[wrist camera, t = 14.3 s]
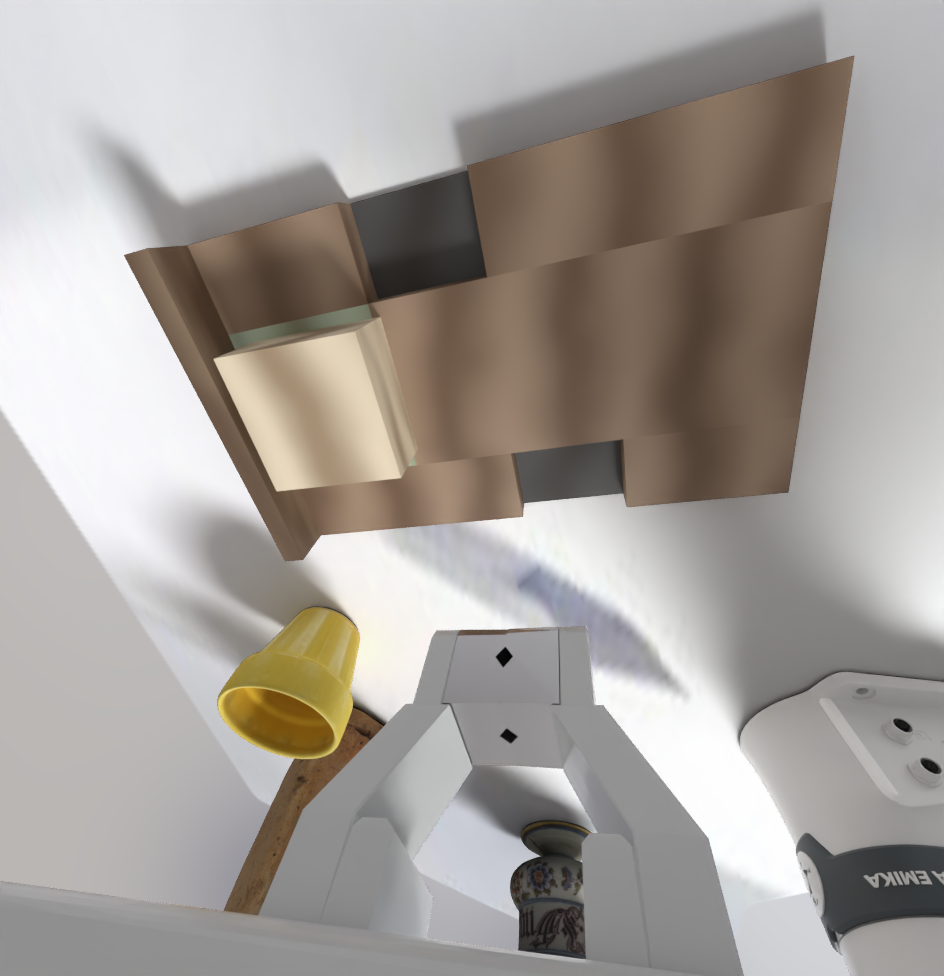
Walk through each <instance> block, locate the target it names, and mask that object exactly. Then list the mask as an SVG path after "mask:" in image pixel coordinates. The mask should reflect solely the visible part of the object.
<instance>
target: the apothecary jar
mask: <svg viewBox="0 0 944 976" xmlns="http://www.w3.org/2000/svg"><path fill="white" fill-rule="evenodd" d="M589 833H590V832H589V831H587V830H585V829H584V828H582V827H579V826H577V825H573V824H570V823H565V822H559V821H542V822H536V823H533V824H530V825H528V826H527V827H525V828H524V829H523V831H522V833H521V839H522V842H523V843H524V845H525V846H526V847H527V848H528V849H529V850H531V851H532V852H534V853H536V854H538V855H540V856H541V857H537V858H534V859H531V860H528V861H526V862H524V863H523V864H521V865H520V866H519V867H518V868H517V869H516V870H515V871H514V873H513V875H512V878H511V883H510V891H511V896H512V899H513V901H514V904H515V906H516V907H517V909H518V910H519V949H518V951H526V952H533V953H541V954H548V955H556V956H563V957H571V958H578V959H586V946H585V920H584V893H583V867H582V862H580V861H581V860H582V842H583V841H584V840H585V838H586V837H587V836H588V835H589Z"/></svg>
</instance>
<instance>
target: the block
mask: <svg viewBox="0 0 944 976" xmlns="http://www.w3.org/2000/svg"><path fill="white" fill-rule="evenodd" d="M383 727H384V726H383V725H381V724H380V723H378V722H377V721H375V720H374V719H372V718H371V717H370V716H369V715H367V714H366V713H364V712H362V711H360V710H357V709H355V708H352V712H351V714H350V717H349V720H348V723H347V726H346V728H345V731H344V733H343V736H342V738H341V741H340V743H339V745H338V747H337V748H336V749H335V750H334V751H333V752H332V753H330V754H328V755H326V756H324V757H321V758H316V759H297V758H295V759H294V760H293V762H292V764H291V766H290V768H289V770H288V771H287V773H286V775H285V777H284V779H283V781H282V784H281V786H280V788H279V790H278V792H277V795H276V797H275V799H274V801H273V803H272V805H271V807H270V809H269V812H268V813H267V816H266V818H265V820H264V822H263V824H262V826H261V828H260V831H259V833H258V835H257V837H256V839H255V841H254V844H253V846H252V848H251V850H250V852H249V854H248V856H247V858H246V861H245V863H244V865H243V867H242V869H241V872H240V874H239V876H238V879H237V881H236V883H235V886H234V888H233V890H232V892H231V895H230V897H229V899H228V901H227V904H226V906H225V909H224V911H228V912H235V913H243V914H250V915H259V912H260V910H261V907H262V905H263V903H264V900H265V898H266V896H267V893H268V891H269V889H270V886H271V884H272V881H273V879H274V877H275V874H276V872H277V870H278V867H279V865H280V863H281V860H282V858H283V855H284V853H285V851H286V848H287V846H288V844H289V841H290V839H291V837H292V834H293V832H294V829H295V827H296V825H297V822H298V820H299V818H300V815H301V813H302V811H303V809H304V808H305V807H306V806H307V805H308V804H309V803H310V802H311V801H312V800H313V799H314V798H315V797H316V796H317V795H318V793H319V792H320V791H321V790H322V789H323V788H324V787H325V786H326V785H327V784H328V783H329V782H330V781H331V780H332V779H333V778H334V777H335V776H336V775H337V774H338V773H339V772H340V771H341V770H342V769H343V768H344V767H345V766H346V765H347V764H348V763H349V762H350V761H351V760H352V759H353V758H354V757H355V756H356V755H357V753H358V752H359V751H360V750H361V749H362V748H363V747H364V746H365V745H366V744H367V743H368V742H369V741H370V740H371V739H372V738H373V737H374V736H375V735H376V734H377V733H378V732H379V731H380V730H381V729H382V728H383Z"/></svg>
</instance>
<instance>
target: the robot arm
mask: <svg viewBox="0 0 944 976" xmlns="http://www.w3.org/2000/svg"><path fill="white" fill-rule="evenodd" d="M740 747H741V750H742V753H743V754H744V756H745V757H746V759H747V760H748V761H749V763H750V764H751V766H752V767H753V769H754V770H755V772H756V773H757V775H758V776H759V778H760V779H761V781H762V783H763V784H764V786H765V788H766V789H767V791H768V793H769V795H770V796H771V798H772V800H773V802H774V804H775V805H776V807H777V809H778V811H779V813H780V815H781V817H782V819H783V821H784V823H785V825H786V827H787V829H788V831H789V833H790V835H791V837H792V839H793V841H794V843H795V845H796V854H797V858H798V863H799V867H800V870H801V873H802V876H803V879H804V881H805V884H806V887H807V889H808V892H809V895H810V897H811V900H812V903H813V905H814V908H815V910H816V912H817V914H818V916H819V917H820V918H821V921H822V923H823V925H824V928H825V930H826V933H827V935H828V938H829V940H830V942H831V945H832V946H833V948H834V949H835V950H836V951H837V952H838V953H840V954H841V955H842V956H843V958H844V961H845V963H846V966H847V968H848V971H849V973H850V976H944V682H938V681H929V680H920V679H910V678H901V677H891V676H882V675H872V674H863V673H853V672H839V673H835V674H833V675H830V676H828V677H827V678H825V679H823V680H822V681H820V682H819V683H818V684H816V685H815V686H813V687H812V688H811V689H809V690H808V691H806V692H803V693H801V694H798V695H795V696H793V697H790V698H787V699H784V700H782V701H779V702H777V703H775V704H772V705H771V706H769V707H767V708H765V709H763V710H762V711H760V712H759V713H758V714H756V715H755V716H754V717H753V718H752V719H751V720H750V721H749V722H748V723H747V724H746V726H745V727H744V729H743V731H742V733H741V737H740ZM472 765H514V766H531V767H546V768H561V769H564V772H565V774H566V776H567V778H568V780H569V782H570V783H571V785H572V787H573V789H574V791H575V792H576V794H577V796H578V798H579V800H580V801H581V803H582V805H583V807H584V809H585V811H586V812H587V814H588V816H589V818H590V820H591V821H592V823H593V825H594V827H595V829H596V830H597V832H598V833H589V835H588V836H587V837H586V838H585V840H584V841H583V842H582V867H583V893H584V920H585V946H586V959H578V958H571V957H563V956H556V955H548V954H541V953H533V952H526V951H518V950H511V949H503V948H496V947H489V946H481V945H474V944H466V943H459V942H451V941H444V940H436V939H428V938H427V935H428V929H429V923H430V917H431V910H432V904H433V897H432V894H431V892H430V890H429V888H428V886H427V885H426V883H425V881H424V880H423V878H422V876H421V875H420V873H419V871H418V870H417V868H416V866H415V864H414V863H413V860H414V858H415V856H416V855H417V853H418V852H419V850H420V849H421V847H422V846H423V844H424V843H425V841H426V839H427V838H428V836H429V835H430V833H431V832H432V830H433V829H434V827H435V826H436V824H437V823H438V821H439V819H440V818H441V816H442V815H443V813H444V812H445V810H446V809H447V807H448V806H449V804H450V802H451V801H452V799H453V798H454V796H455V795H456V793H457V792H458V790H459V789H460V787H461V785H462V784H463V782H464V781H465V779H466V778H467V776H468V775H469V773H470V772H471V770H472V769H473V768H472ZM0 976H744V975H743V971H742V967H741V963H740V959H739V955H738V951H737V947H736V944H735V940H734V936H733V932H732V928H731V924H730V920H729V916H728V912H727V909H726V905H725V901H724V897H723V893H722V889H721V885H720V881H719V878H718V874H717V870H716V866H715V862H714V858H713V854H712V850H711V847H710V843H709V839H708V838H707V836H706V835H705V834H704V832H703V831H702V830H701V829H700V827H699V826H698V825H697V824H696V822H695V821H694V820H693V819H692V817H691V816H690V815H689V814H688V812H687V811H686V810H685V808H684V807H683V806H682V805H681V803H680V802H679V801H678V800H677V798H676V797H675V796H674V795H673V793H672V792H671V791H670V789H669V788H668V787H667V786H666V784H665V783H664V782H663V781H662V779H661V778H660V777H659V776H658V774H657V773H656V772H655V770H654V769H653V768H652V767H651V765H650V764H649V763H648V762H647V760H646V759H645V758H644V757H643V755H642V754H641V753H640V752H639V750H638V749H637V748H636V746H635V745H634V744H633V743H632V741H631V740H630V739H629V738H628V736H627V735H626V734H625V733H624V731H623V730H622V729H621V727H620V726H619V725H618V724H617V722H616V721H615V720H614V719H613V717H612V716H611V715H610V714H609V712H608V711H607V710H606V709H605V707H604V706H603V705H596V700H595V691H594V682H593V674H592V665H591V657H590V648H589V640H588V631H587V626H572V627H560V628H559V627H542V628H520V629H509V630H445V631H436V632H435V634H434V635H433V637H432V639H431V643H430V646H429V650H428V653H427V657H426V660H425V664H424V667H423V671H422V674H421V678H420V681H419V685H418V688H417V692H416V695H415V699H414V702H413V704H405V705H404V706H403V707H402V708H401V709H400V710H399V711H398V712H397V714H396V715H395V716H394V717H393V718H392V719H391V720H390V721H389V722H388V723H387V724H386V725H385V726H384V727H383V728H382V729H381V730H380V731H379V732H378V733H377V734H376V735H375V736H374V737H373V738H372V739H371V740H370V741H369V742H368V743H367V744H366V745H365V746H364V747H363V748H362V749H361V750H360V751H359V752H358V753H357V755H356V756H355V757H354V758H353V759H352V760H351V761H350V762H349V763H348V764H347V765H346V766H345V767H344V768H343V769H342V770H341V771H340V772H339V773H338V774H337V775H336V776H335V777H334V778H333V779H332V780H331V781H330V782H329V783H328V784H327V785H326V786H325V787H324V788H323V789H322V790H321V791H320V792H319V793H318V795H317V796H316V797H315V798H314V799H313V800H312V801H311V802H310V803H309V804H308V805H307V806H306V807H305V808H304V809H303V811H302V813H301V815H300V818H299V820H298V822H297V825H296V827H295V829H294V832H293V834H292V837H291V839H290V841H289V844H288V846H287V848H286V851H285V853H284V855H283V858H282V860H281V863H280V865H279V867H278V870H277V872H276V874H275V877H274V879H273V881H272V884H271V886H270V889H269V891H268V893H267V896H266V898H265V900H264V903H263V905H262V907H261V910H260V912H259V915H250V914H243V913H235V912H228V911H219V910H213V909H206V908H197V907H190V906H183V905H175V904H168V903H161V902H153V901H146V900H139V899H130V898H123V897H116V896H109V895H101V894H94V893H86V892H79V891H71V890H64V889H57V888H49V887H41V886H34V885H26V884H19V883H12V882H4V881H0Z"/></svg>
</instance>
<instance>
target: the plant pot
mask: <svg viewBox="0 0 944 976" xmlns="http://www.w3.org/2000/svg"><path fill="white" fill-rule="evenodd" d="M359 641H360V637H359V633H358V630H357V628H356V627H355V625H354V624H353V623H352V622H351V621H350V620H349V619H348V618H347V617H345V616H344V615H342V614H340V613H338V612H336V611H334V610H331V609H328V608H323V607H312V608H307V609H305V610H303V611H301V612H300V613H299V614H298V615H297V616H296V617H295V618H294V619H293V620H292V621H291V622H290V623H289V624H288V625H287V626H286V627H285V628H284V629H283V630H282V631H281V632H280V633H279V634H278V635H277V636H276V637H275V638H274V639H273V640H272V641H271V642H270V643H269V644H268V645H267V646H266V647H265V648H264V649H263V650H262V651H261V652H258V653H255V654H252V655H250V656H249V657H247V658H246V659H245V660H244V661H243V662H242V663H241V664H240V665H239V667H238V668H237V669H236V671H235V672H234V673H233V675H232V676H231V677H230V679H229V680H228V682H227V683H226V684H225V686H224V687H223V689H222V690H221V692H220V694H219V696H218V700H217V706H218V711H219V713H220V715H221V717H222V719H223V720H224V722H225V723H226V724H227V725H228V726H229V727H230V728H231V729H232V730H233V731H234V732H235V733H236V734H238V735H239V736H240V737H242V738H243V739H244V740H246V741H248V742H249V743H251V744H253V745H255V746H257V747H259V748H261V749H264V750H266V751H268V752H271V753H274V754H277V755H281V756H285V757H290V758H297V759H316V758H321V757H324V756H326V755H328V754H330V753H332V752H333V751H334V750H335V749H336V748H337V747H338V745H339V743H340V741H341V738H342V736H343V733H344V731H345V728H346V726H347V723H348V720H349V717H350V714H351V712H352V708H353V699H352V695H351V693H350V690H351V684H352V679H353V674H354V668H355V663H356V658H357V653H358V648H359Z"/></svg>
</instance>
